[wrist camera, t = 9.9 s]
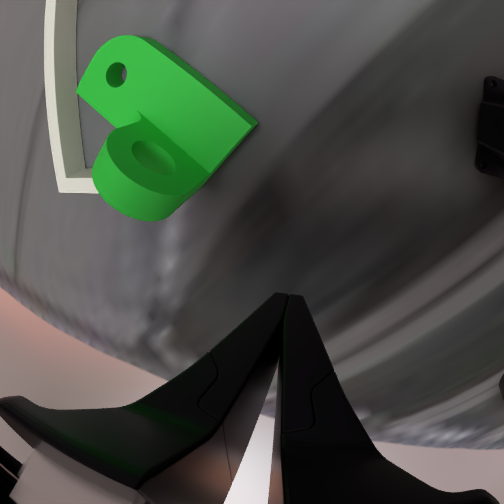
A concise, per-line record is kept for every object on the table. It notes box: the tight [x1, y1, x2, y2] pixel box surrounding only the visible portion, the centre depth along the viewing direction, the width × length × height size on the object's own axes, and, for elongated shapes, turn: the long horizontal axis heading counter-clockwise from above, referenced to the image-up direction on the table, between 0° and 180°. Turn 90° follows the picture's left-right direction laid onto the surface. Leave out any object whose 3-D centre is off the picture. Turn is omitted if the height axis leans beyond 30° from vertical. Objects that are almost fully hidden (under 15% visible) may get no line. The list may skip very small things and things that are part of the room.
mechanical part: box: [75, 35, 258, 221], centre depth 16 cm, size 12×6×8 cm, turn 49°
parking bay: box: [44, 0, 98, 193], centre depth 17 cm, size 10×19×2 cm, turn 0°
